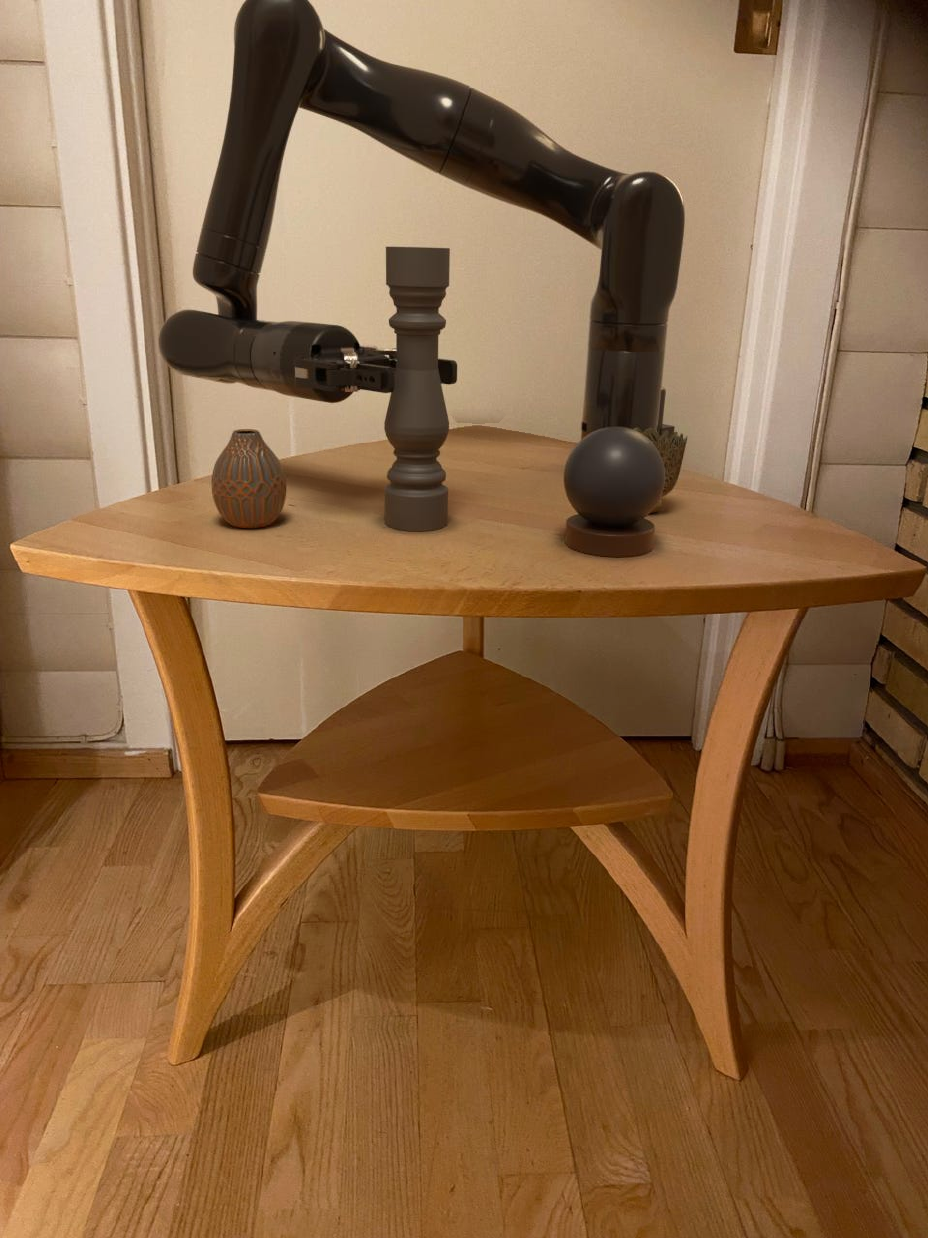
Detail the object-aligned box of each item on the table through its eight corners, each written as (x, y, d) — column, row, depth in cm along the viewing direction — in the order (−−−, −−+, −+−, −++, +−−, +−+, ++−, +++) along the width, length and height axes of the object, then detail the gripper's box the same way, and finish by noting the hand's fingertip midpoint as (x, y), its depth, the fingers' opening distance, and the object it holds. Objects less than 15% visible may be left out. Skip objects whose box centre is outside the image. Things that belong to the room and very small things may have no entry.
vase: (300, 518, 94) (297, 428, 91) (264, 536, 88) (259, 440, 85) (239, 510, 96) (233, 422, 93) (199, 527, 90) (192, 434, 87)
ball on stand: (605, 525, 94) (613, 415, 90) (678, 547, 88) (691, 430, 84) (539, 540, 89) (545, 424, 85) (612, 565, 82) (623, 440, 78)
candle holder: (440, 533, 90) (444, 248, 81) (376, 528, 91) (374, 246, 82) (454, 516, 96) (459, 248, 87) (394, 511, 97) (393, 246, 88)
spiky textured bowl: (635, 523, 95) (642, 442, 92) (592, 505, 101) (598, 429, 98) (694, 515, 98) (703, 437, 95) (649, 499, 104) (656, 425, 101)
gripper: (247, 325, 91) (368, 338, 81) (356, 319, 101) (475, 330, 92) (252, 405, 94) (369, 427, 84) (357, 391, 104) (473, 409, 94)
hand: (424, 376), depth 88 cm, fingers open, 8 cm apart
